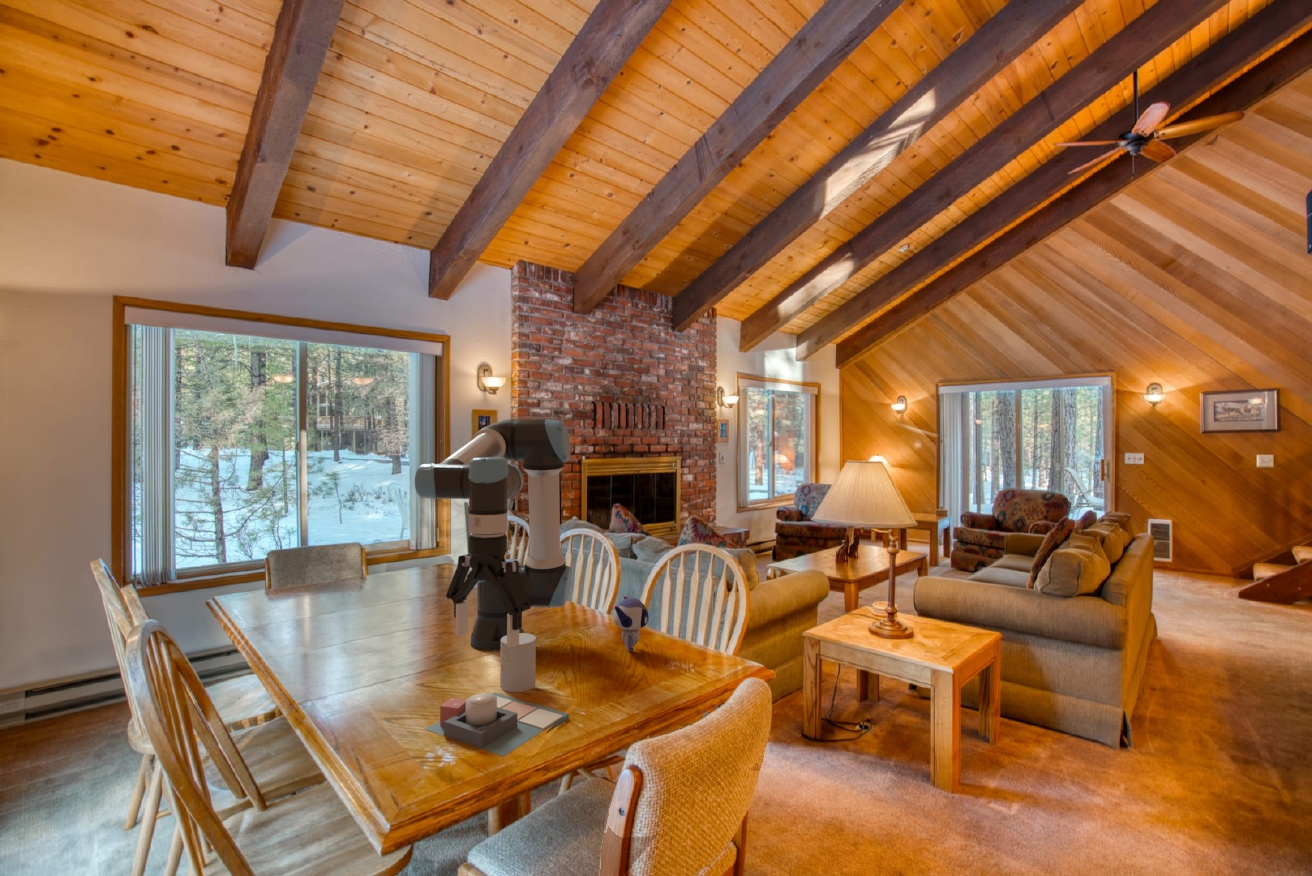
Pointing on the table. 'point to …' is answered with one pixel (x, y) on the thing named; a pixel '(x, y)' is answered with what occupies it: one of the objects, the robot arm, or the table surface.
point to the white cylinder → (518, 664)
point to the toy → (630, 620)
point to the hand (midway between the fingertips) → (486, 640)
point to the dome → (481, 709)
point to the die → (451, 709)
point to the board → (503, 725)
